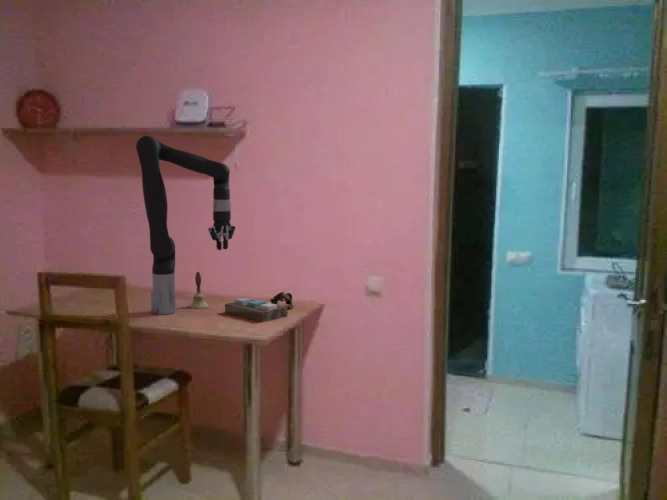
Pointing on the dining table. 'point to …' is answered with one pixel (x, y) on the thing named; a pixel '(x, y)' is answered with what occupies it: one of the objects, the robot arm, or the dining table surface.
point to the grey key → (242, 301)
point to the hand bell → (198, 295)
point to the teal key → (255, 303)
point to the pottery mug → (283, 297)
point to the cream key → (268, 306)
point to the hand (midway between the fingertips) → (222, 249)
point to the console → (255, 312)
